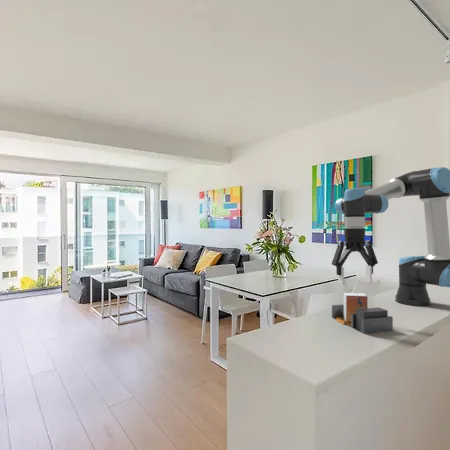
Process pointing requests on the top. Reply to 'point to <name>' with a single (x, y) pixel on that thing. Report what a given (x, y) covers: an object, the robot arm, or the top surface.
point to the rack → (364, 321)
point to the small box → (353, 304)
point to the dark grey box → (368, 315)
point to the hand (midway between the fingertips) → (355, 282)
